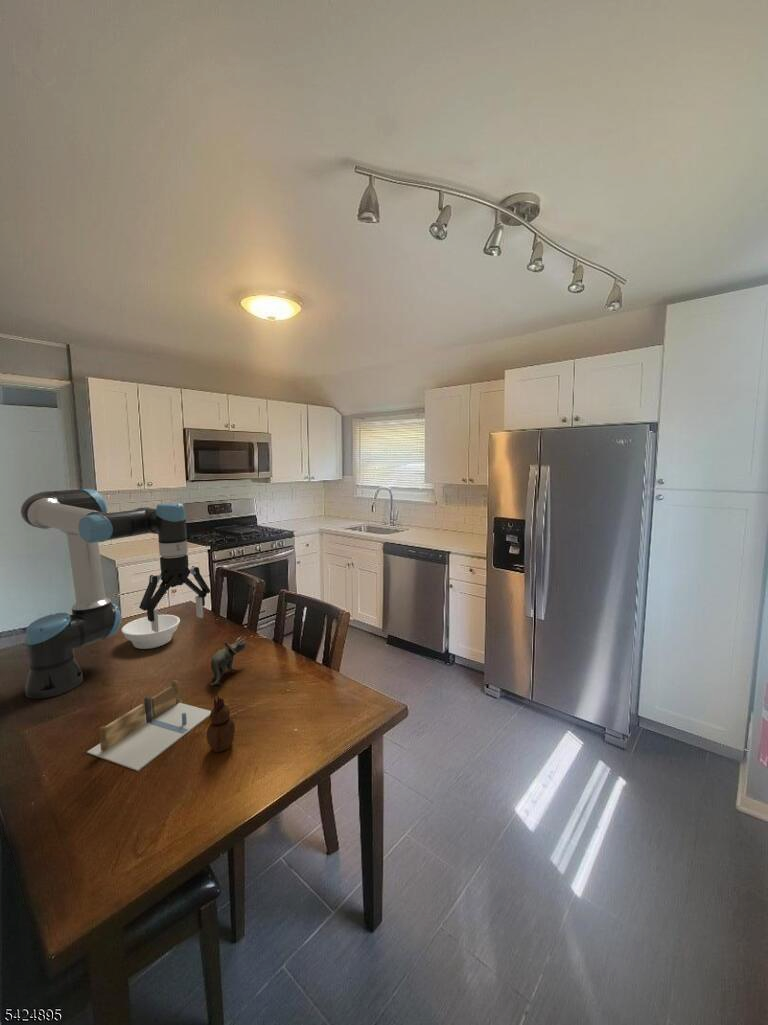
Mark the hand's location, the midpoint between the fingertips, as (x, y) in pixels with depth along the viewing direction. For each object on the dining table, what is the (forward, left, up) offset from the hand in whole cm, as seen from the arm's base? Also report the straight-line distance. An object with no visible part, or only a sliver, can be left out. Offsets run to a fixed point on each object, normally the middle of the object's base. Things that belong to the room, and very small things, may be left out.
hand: (178, 623), depth 127 cm
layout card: (+4, -14, -26) cm, 29 cm away
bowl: (-45, +28, -26) cm, 59 cm away
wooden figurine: (+26, -12, -26) cm, 38 cm away
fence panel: (-1, -19, -25) cm, 31 cm away
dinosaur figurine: (+1, +16, -26) cm, 30 cm away
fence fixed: (-1, -7, -25) cm, 26 cm away
